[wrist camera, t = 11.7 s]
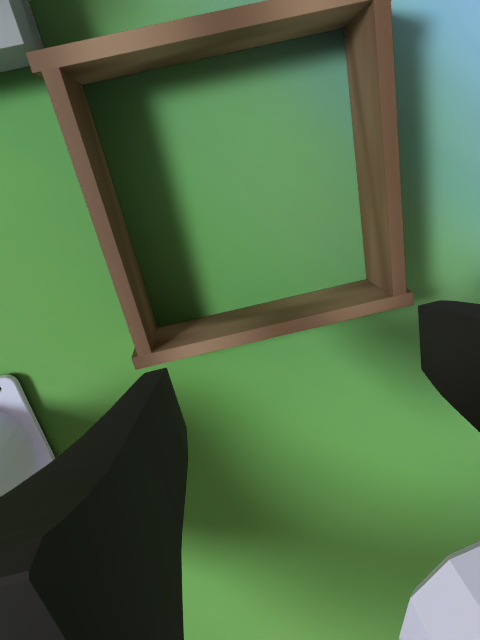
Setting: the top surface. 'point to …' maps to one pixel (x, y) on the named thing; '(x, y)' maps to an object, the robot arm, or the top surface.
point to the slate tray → (17, 34)
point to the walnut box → (216, 39)
